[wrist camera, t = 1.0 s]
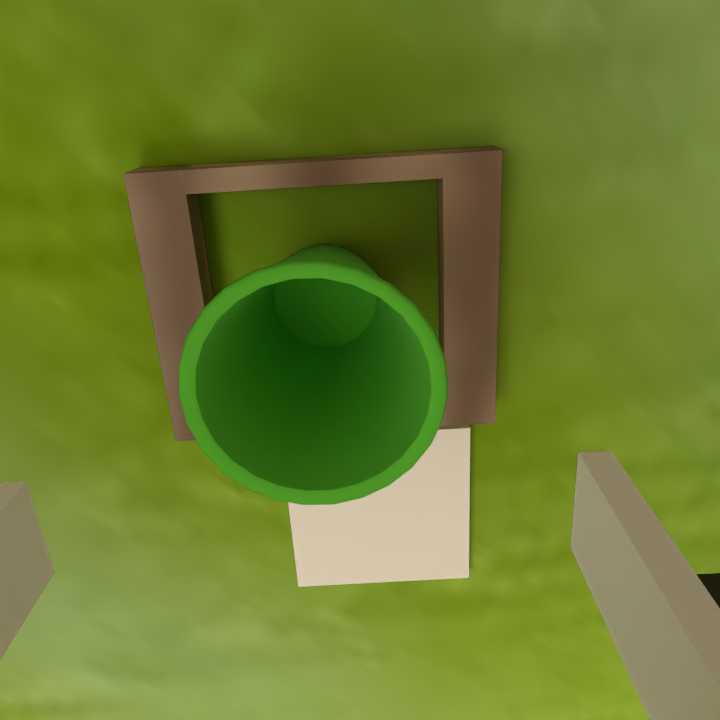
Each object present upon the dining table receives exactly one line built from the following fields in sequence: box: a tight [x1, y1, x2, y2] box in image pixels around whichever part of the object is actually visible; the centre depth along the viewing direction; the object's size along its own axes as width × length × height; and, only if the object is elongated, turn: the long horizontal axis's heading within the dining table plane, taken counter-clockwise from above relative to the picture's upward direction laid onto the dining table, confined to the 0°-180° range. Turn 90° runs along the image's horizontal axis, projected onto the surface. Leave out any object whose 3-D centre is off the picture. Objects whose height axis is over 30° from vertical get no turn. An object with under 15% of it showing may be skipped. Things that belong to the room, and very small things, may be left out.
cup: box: [178, 245, 449, 505], centre depth 27 cm, size 9×9×11 cm
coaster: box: [288, 425, 470, 587], centre depth 36 cm, size 10×10×1 cm
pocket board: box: [123, 146, 502, 441], centre depth 31 cm, size 16×13×2 cm
